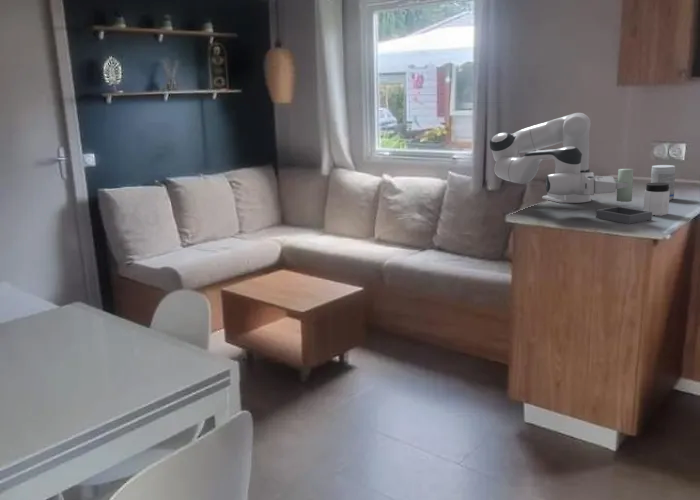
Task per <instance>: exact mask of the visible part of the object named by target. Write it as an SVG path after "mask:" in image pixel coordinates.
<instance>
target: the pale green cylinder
mask: <svg viewBox="0 0 700 500" xmlns="http://www.w3.org/2000/svg"><path fill="white" fill-rule="evenodd" d="M617 179H618V183H628V187H627V188H618V189H616V201H617V202H621V203H624V202H625V203H628V202H629V203H630V202H632V199H633V188H634V187H633V185H634V168H618V170H617Z"/></svg>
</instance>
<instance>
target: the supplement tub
mask: <svg viewBox="0 0 700 500" xmlns="http://www.w3.org/2000/svg"><path fill="white" fill-rule="evenodd" d="M650 171H651V174H650V183H668V184H669V191H670V196H669V201H671V200H674V198H675V186H676V185H675V184H676V182H675V181H676V165H672V164H671V165H670V164H657V165H651V170H650Z"/></svg>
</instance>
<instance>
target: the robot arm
mask: <svg viewBox="0 0 700 500" xmlns="http://www.w3.org/2000/svg"><path fill="white" fill-rule="evenodd" d="M591 122H592V121H591V119H590V117H589V116H588V115H587V114H585V113H583V112H574V113H570V114H568V115H564V116H562V117H557V118H554V119H551V120H547V121H545V122H540V123H537V124H534V125H531V126H528V127H525V128H524V127H523V128H522V129H520V130H517V131H515V132H514V133H510V132H505V131H503V132H499V133H495V135H493V136H492V137H491V138H490V140H489V147H490V150H491V153H492V157H493V160H494V161H495V163H494V167H493V171H494V173H495V175H496V176H497V177H498V178H499V179H502V180H504V181H508V182H511V183H514V184H527V183H529V182H531V181H532V180H533V179H534V178H535V177H536V175H537V173H538V170H539V168H540V164H541V162H542V161H543V160H554V164H555V165H554V166H555V167H554V168H555V169H554V172H555V173H550V174H547V175H546V177H545V190H546V192H547V194H545V195H543V196H541V198H542V199H543V200H548V201H551V202H555V203H559V204H560V203H561V204H564V203H571V204H573V203H577V204H579V203H588V202H592V197H591V196H594V195H595V194H597V195H598V194H610V193H611V194H612V193H616V192H617V189H618V188H627V187H628V183H618V178H617V179H615V178H614V176H612V175H602V176H601V175H595V173H594V172H590V168H589V165H590V129H591V126H592V124H591ZM561 143H562V147H558V148H549V147H551V146H555V145H558V144H561ZM547 147H548V148H547ZM544 148H547V149H544ZM521 153H524V155H523V156H521V155H520V154H521Z"/></svg>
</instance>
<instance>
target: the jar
mask: <svg viewBox="0 0 700 500" xmlns="http://www.w3.org/2000/svg"><path fill="white" fill-rule="evenodd" d="M669 196H670V191H669V184H668V183H651V182H647V183H646V186H645V189H644V196H643V197H644V198H643V199H644V200H643V211H649V212H652V216H653V215H655V216H657V217H659V216H661V217H662V216H666V215H669V209H670V208H669V206H670V200H669Z"/></svg>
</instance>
